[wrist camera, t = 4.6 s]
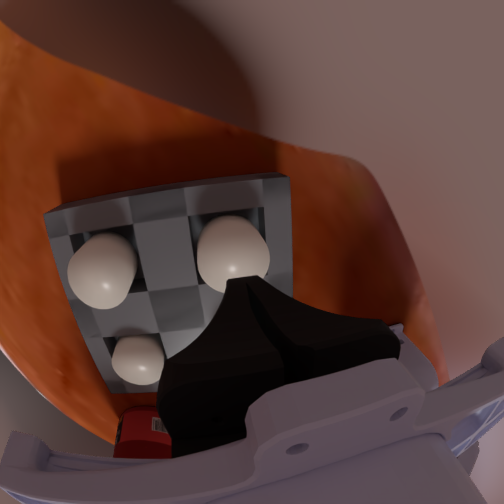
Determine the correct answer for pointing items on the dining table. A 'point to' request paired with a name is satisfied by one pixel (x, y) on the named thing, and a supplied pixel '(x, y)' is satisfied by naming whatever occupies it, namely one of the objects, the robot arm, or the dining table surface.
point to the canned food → (142, 435)
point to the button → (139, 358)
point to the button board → (167, 257)
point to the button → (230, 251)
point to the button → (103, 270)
